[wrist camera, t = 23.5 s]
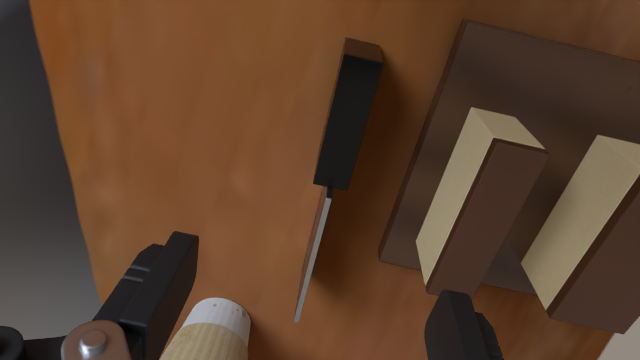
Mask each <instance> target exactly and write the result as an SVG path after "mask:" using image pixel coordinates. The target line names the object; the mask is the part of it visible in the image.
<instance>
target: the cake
mask: <svg viewBox="0 0 640 360" xmlns="http://www.w3.org/2000/svg"><path fill="white" fill-rule="evenodd" d="M521 265H522V266H523V268H524V270H525V272H526V274H527V276H528V278H529V280H530V282H531V284H532V285H533V287H534V289H535V291H536V293H537V295H538V297H539V299H540V301H541V302H542V304H543V306H544V308H545V310H546V312H547V314H548V316H549V318H550V319H555V320H559V321H564V322H569V323H573V324H578V325H583V326H587V327H592V328H597V329H601V330H606V331H611V332H615V333H620V334H624V333H625V332H626V331H627V330H628V329H629V327H630V326H631V325H632V324H633V323H634V322H635V321H636V319H637V318H638V317H639V316H640V144H635V143H631V142H627V141H623V140H618V139H614V138H610V137H606V136H601V135H597V137H596V138H595V140H594V142H593V143H592V145H591V147H590V148H589V150H588V152H587V153H586V155H585V157H584V158H583V160H582V162H581V163H580V165H579V167H578V168H577V170H576V172H575V173H574V175H573V177H572V178H571V180H570V182H569V183H568V185H567V187H566V188H565V190H564V192H563V193H562V195H561V197H560V198H559V200H558V202H557V203H556V205H555V207H554V208H553V210H552V212H551V213H550V215H549V217H548V218H547V220H546V222H545V223H544V225H543V227H542V228H541V230H540V232H539V233H538V235H537V237H536V238H535V240H534V242H533V243H532V245H531V247H530V248H529V250H528V252H527V253H526V255H525V257H524V258H523V260H522V262H521Z"/></svg>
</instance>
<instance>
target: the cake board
mask: <svg viewBox="0 0 640 360" xmlns="http://www.w3.org/2000/svg"><path fill="white" fill-rule="evenodd" d="M471 107H473V108H477V109H482V110H486V111H490V112H495V113H499V114H504V115H508V116H512V117H515V118H516V119H517V120H518V121H519V122H520V123H521V124H522V125H523V126H524V127H525V128H526V129H527V130H528V131H529V132H530V133H531V134H532V135H533V136H534V137H535V139H536V140H537V141H538V142H539V143H540V144H541V145H542V146H543V147H544V148H545V150H547V152H548V153H549V154H550V157H549V158H548V160H547V162H546V164H545V166H544V168H543V169H542V171H541V173H540V175H539V177H538V179H537V180H536V182H535V184H534V186H533V188H532V190H531V191H530V193H529V195H528V197H527V199H526V201H525V202H524V204H523V206H522V208H521V210H520V212H519V213H518V215H517V217H516V219H515V221H514V223H513V224H512V226H511V228H510V230H509V232H508V234H507V235H506V237H505V239H504V241H503V243H502V245H501V246H500V248H499V250H498V252H497V254H496V255H495V257H494V259H493V261H492V263H491V265H490V266H489V268H488V270H487V272H486V274H485V276H484V277H483V279H482V281H481V283H483V284H487V285H492V286H497V287H501V288H506V289H510V290H515V291H520V292H524V293H529V294H534V295H537V293H536V291H535V289H534V287H533V285H532V284H531V282H530V280H529V278H528V276H527V274H526V272H525V270H524V268H523V266H522V265H521V262H522V260H523V258H524V257H525V255H526V253H527V252H528V250H529V248H530V247H531V245H532V243H533V242H534V240H535V238H536V237H537V235H538V233H539V232H540V230H541V228H542V227H543V225H544V223H545V222H546V220H547V218H548V217H549V215H550V213H551V212H552V210H553V208H554V207H555V205H556V203H557V202H558V200H559V198H560V197H561V195H562V193H563V192H564V190H565V188H566V187H567V185H568V183H569V182H570V180H571V178H572V177H573V175H574V173H575V172H576V170H577V168H578V167H579V165H580V163H581V162H582V160H583V158H584V157H585V155H586V153H587V152H588V150H589V148H590V147H591V145H592V143H593V142H594V140H595V138H596V137H597V135H601V136H606V137H610V138H614V139H618V140H623V141H627V142H631V143H635V144H640V62H639V61H635V60H631V59H627V58H623V57H618V56H614V55H610V54H606V53H602V52H598V51H594V50H590V49H585V48H581V47H577V46H573V45H569V44H565V43H561V42H557V41H553V40H548V39H544V38H540V37H536V36H532V35H528V34H524V33H520V32H516V31H511V30H507V29H503V28H499V27H495V26H491V25H487V24H483V23H478V22H474V21H470V20H466V19H462V22H461V24H460V27H459V30H458V33H457V35H456V38H455V41H454V43H453V46H452V49H451V52H450V54H449V57H448V60H447V63H446V65H445V68H444V71H443V74H442V76H441V79H440V82H439V85H438V87H437V90H436V93H435V96H434V98H433V101H432V104H431V107H430V109H429V112H428V115H427V117H426V120H425V123H424V126H423V128H422V131H421V134H420V137H419V139H418V142H417V145H416V148H415V150H414V153H413V156H412V159H411V161H410V164H409V167H408V170H407V172H406V175H405V178H404V180H403V183H402V186H401V189H400V191H399V194H398V197H397V200H396V202H395V205H394V208H393V211H392V213H391V216H390V219H389V222H388V224H387V227H386V230H385V233H384V235H383V238H382V241H381V244H380V246H379V249H378V256H379V261H381V262H386V263H390V264H395V265H399V266H404V267H409V268H413V269H418V270H422V269H421V264H420V259H419V254H418V249H417V245H416V240H417V237H418V235H419V233H420V230H421V228H422V225H423V223H424V220H425V218H426V216H427V213H428V211H429V208H430V206H431V203H432V201H433V199H434V196H435V194H436V191H437V189H438V187H439V184H440V182H441V179H442V177H443V174H444V172H445V170H446V167H447V165H448V162H449V160H450V157H451V155H452V153H453V150H454V148H455V145H456V143H457V140H458V138H459V136H460V133H461V131H462V128H463V126H464V123H465V121H466V119H467V116H468V114H469V111H470V109H471Z"/></svg>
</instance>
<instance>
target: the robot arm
mask: <svg viewBox="0 0 640 360" xmlns="http://www.w3.org/2000/svg"><path fill="white" fill-rule="evenodd" d="M198 246H199V237H198V236H196V235H192V234H187V233H182V232H177V231H174V232H173V233H172V235H171V236H170V238H169V240H168V241H167V243H166V244H165V246H163V245H158V244H152V245H150V246H149V247H147V248H146V249H144V250H143V251H141V252H140V253H139V254H138V255H137V257H136V258H135V260H134V261H133V263H132V264H131V266H130V268H128V270H127V271H126V273H125V274H124V276H123V279H121V280H120V281H119V283H118V284H117V286H116V287H115V289H114V290H113V292H112V293H111V294H110V296H109V297H108V299H107V300H106V302H105V303H104V305H103V306H102V307H101V309H100V310H99V312H98V313H97V315H96V316H95V317H94V319H93V320H92V321H90V322H87V323H84V324H82V325H80V326H78V327H76V328H75V329H73V330H72V331H71V332H70V333H69V334H68V335H66V336H62V337H56V338H45V339H33V340H23V337H22V335H21V334H20V332H19V331H17V330H16V329H14V328H11V327H6V326H0V360H159V358H160V356H161V354H162V352H163V349H164V347H165V345H166V343H167V341H168V339H169V337H170V335H171V332H172V330H173V328H174V326H175V324H176V322H177V320H178V318H179V315H180V313H181V311H182V309H183V307H184V305H185V303H186V301H187V298H188V296H189V294H190V292H191V290H192V287H193V284H194V281H195V277H196V271H197V259H198ZM425 344H426V349H427V355H428V360H504V358H502V352H501V349H500V347H499V346H498V341H497V338H496V335H495V332H494V330H493V327H492V326H491V325H490V323H489V322H488V321H487V319H486V318H485V317H484V316H483V314H482V313H477V312H475V311H474V308H473V304H472V301H471V298H470V296H469V295H468V294H466V293H461V292H457V291H452V290H447V289H444V290H443V291H442V292H441V294H440V295H439V297H438V299H437V301H436V303H435V305H434V307H433V309H432V311H431V313H430V315H429V317H428V319H427V322H426V326H425Z"/></svg>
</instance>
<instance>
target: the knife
mask: <svg viewBox="0 0 640 360" xmlns="http://www.w3.org/2000/svg"><path fill="white" fill-rule="evenodd" d="M383 64H384V62H383V58H382V54H381V50H380V46H379V45H376V44H371V43H367V42H363V41H359V40H355V39H350V38H345V42H344V46H343V50H342V55H341V59H340V63H339V67H338V72H337V76H336V80H335V84H334V89H333V93H332V97H331V102H330V106H329V110H328V114H327V119H326V123H325V127H324V131H323V136H322V140H321V144H320V148H319V153H318V158H317V164H316V169H315V175H314V181H313V184H317V185H321V186H323V188H322V192H321V196H320V200H319V204H318V208H317V212H316V216H315V220H314V224H313V228H312V232H311V236H310V240H309V244H308V248H307V252H306V256H305V260H304V264H303V268H302V274H301V280H300V286H299V292H298V298H297V304H296V310H295V316H294V322H299V318H300V315H301V311H302V307H303V304H304V300H305V296H306V293H307V289H308V285H309V281H310V278H311V274H312V270H313V267H314V263H315V259H316V255H317V252H318V248H319V244H320V241H321V237H322V233H323V230H324V226H325V222H326V218H327V215H328V211H329V207H330V204H331V200H332V190H333V188H335V189H339V190H344V191H347V189H348V186H349V182H350V179H351V175H352V172H353V168H354V165H355V161H356V158H357V154H358V151H359V147H360V144H361V141H362V137H363V134H364V130H365V127H366V123H367V120H368V116H369V113H370V109H371V106H372V102H373V99H374V95H375V92H376V89H377V85H378V82H379V78H380V75H381V71H382V68H383Z"/></svg>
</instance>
